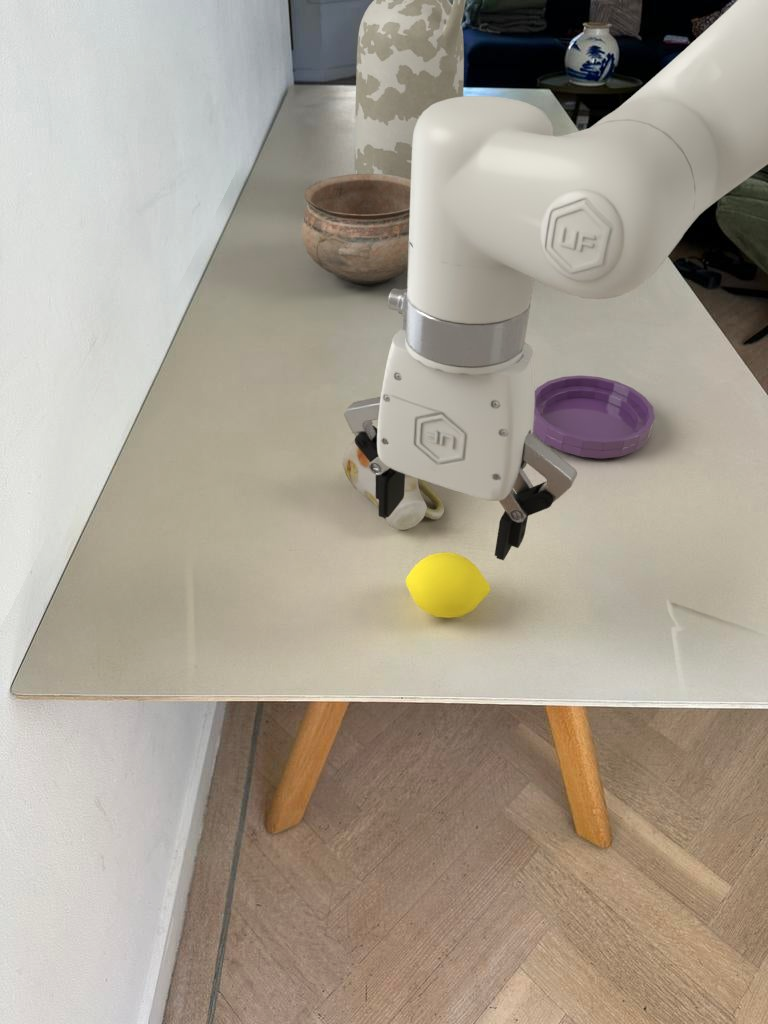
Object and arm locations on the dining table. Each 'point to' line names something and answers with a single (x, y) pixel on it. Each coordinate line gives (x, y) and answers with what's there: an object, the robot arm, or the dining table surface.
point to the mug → (413, 502)
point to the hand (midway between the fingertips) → (447, 527)
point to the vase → (403, 77)
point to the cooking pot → (359, 226)
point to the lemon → (447, 585)
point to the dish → (592, 416)
